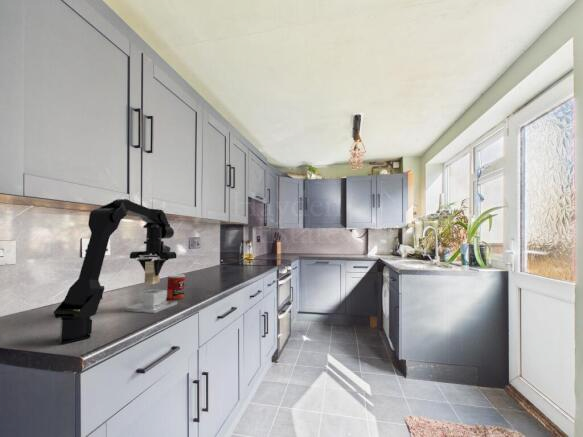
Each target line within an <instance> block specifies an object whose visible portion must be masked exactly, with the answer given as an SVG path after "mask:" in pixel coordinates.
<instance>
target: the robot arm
mask: <svg viewBox="0 0 583 437" xmlns="http://www.w3.org/2000/svg"><path fill="white" fill-rule="evenodd" d="M127 214H129V215H133V216H136V217H139V218H141V220H142V221H143V222H145V223H146V224H144V225H143V229H145V228H146V237H145V239H146V240H145V241H143V244H144V245H145V250H142V251H141V250H140V251H131V252H130V253H129V259H136V261H138V262H139V265H141V267H142V268H143V271H144V272H145V262H149V261H154V267H155V274H156V276H158V275H159V273H160V274H161V271H162V267H163V266H164V264H165V263H166V262H167V261H169V260H172V259H177V256H178V255H177V253H176V252H175V251H171V247H170V246H167V245H165V244H164V241H163V240H164V239H171V238H172V237H174V235H175V231H174V229H173V227H172V226H171V224H170V223H169V221H168V219H167V216H166V214H165V211H164V210H163V209H158V208H157V209H156V208H148V207H146V206H144V205H141V204H138V203H136V202H134V201H131V200H129V199H127V198H123V199H122V198H117V199H114V200H113V201H111V202H110V203H107V204H105V205H103V206H100V207H99V208H95V209H92V210H91V211H90V213H89V215H88V223H87V225H88V228H89V230H90V233H91V234H90V238H89V241H88V245H87V247H86V252H85V254H84V258H83V261H82V266H81V269H80V272H79V277H78V279H77V280H76V281H75V282H74V283H73V284H72V285H71V286H70V287H69V289H68V291H67V293H66V295H65V298H64V299H63V300H62V301H61V303H60V304H59V305H58V306H57V307H56V308H55V309H54V311H53V315H54V319H60V329H59V336H58V337H57V339H58V341H59V343H60V344H62V345H63V344H64V345H65V344H68V343H72V342H77V341H80V340H85V339H90V338H91V334H92V329H93V319H92V318H91V317H92V316H95V315H96V314H97V310H98V308H99V304H100V303H101V301H102V300H103V294H104V291H105V286H104V285H101V283H100V279H99V278H100V275H101V272H102V267H103V264H104V260H105V256H106V252H107V248H108V245H109V241H110V237H111V236H112V235H113V234H114V233H115V231H116V230H117V229H118V227H119V225H120V223H121V221H122V220H123V219H124V218H125V217H126V216H127ZM162 239H163V240H162ZM153 258H156V259H153ZM74 310H78V311H74Z"/></svg>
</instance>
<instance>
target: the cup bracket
mask: <svg viewBox="0 0 583 437" xmlns="http://www.w3.org/2000/svg"><path fill="white" fill-rule="evenodd" d="M176 305H178V300H167V289H152V288H151V289H149V290H145V291H141V292H137V303H135V304H132V305H129V306H125V307H124V309H123V311H124V312H131V313H132V312H133V313H134V312H135V313H149V314H150V313H151V314H156V313H158V312H161V311H163V310H166V309H168V308H171V307H173V306H176Z"/></svg>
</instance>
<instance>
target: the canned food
mask: <svg viewBox="0 0 583 437" xmlns="http://www.w3.org/2000/svg"><path fill="white" fill-rule="evenodd" d="M185 285H186V274H182V273H176V274H175V273H174V274H169V275H167V285H166V286H167V289H166V290H167V296H166V299H167V300H168V301H178V300H182V299H184V298H185Z"/></svg>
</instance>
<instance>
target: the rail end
mask: <svg viewBox="0 0 583 437" xmlns="http://www.w3.org/2000/svg"><path fill="white" fill-rule="evenodd" d="M160 280H161V272H160V273H159V275H158V276H156V274H155V267H154V260H152V261H149V262H145V271H144V284H145V285H146V284H148V285H153V284H158V283H160V282H161V281H160Z"/></svg>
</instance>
